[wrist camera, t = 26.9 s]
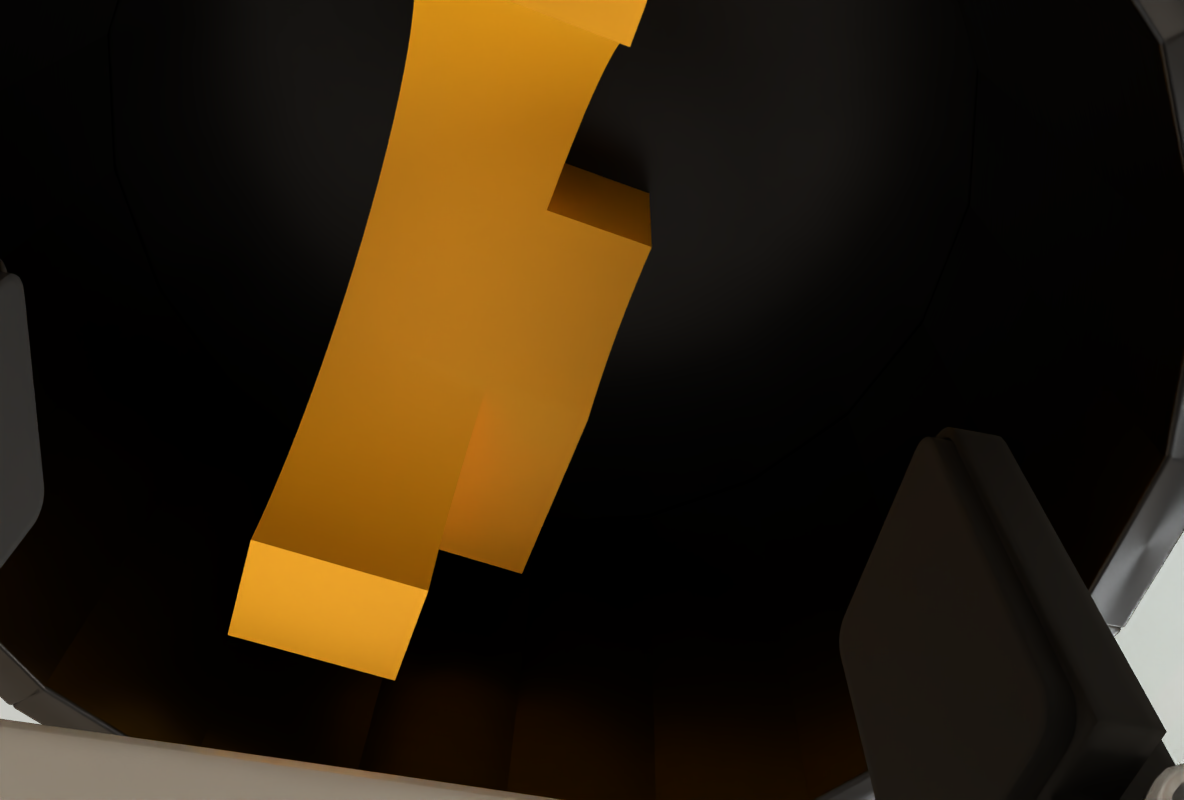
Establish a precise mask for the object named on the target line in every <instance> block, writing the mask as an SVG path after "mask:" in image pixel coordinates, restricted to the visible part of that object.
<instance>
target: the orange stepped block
mask: <svg viewBox="0 0 1184 800" xmlns="http://www.w3.org/2000/svg"><path fill="white" fill-rule="evenodd" d="M646 3H647V0H414V8H413V17H412V26H411V33H410V39H409V46H408V52H407V58H406V63H405V69H404V74H403V79H402V84H401V89H400V94H399V99H398V103H397V108H396V112H395V117H394V121H393V125H392V130H391V134H390V138H389V142H388V146H387V150H386V154H385V158H384V162H383V166H382V170H381V174H380V177H379V181H378V185H377V189H376V193H375V196H374V200H373V203H372V207H371V211H370V214H369V218H368V221H367V225H366V228H365V231H364V235H363V238H362V242H361V245H360V249H359V252H358V255H357V258H356V262H355V265H354V268H353V272H352V275H351V278H350V281H349V284H348V288H347V291H346V294H345V297H344V300H343V303H342V306H341V309H340V312H339V315H338V319H337V322H336V325H335V328H334V331H333V334H332V336H331V339H330V342H329V345H328V348H327V351H326V354H325V357H324V360H323V363H322V366H321V368H320V371H319V374H318V377H317V380H316V382H315V385H314V388H313V391H312V393H311V396H310V399H309V402H308V404H307V407H306V410H305V412H304V415H303V418H302V420H301V423H300V426H299V428H298V431H297V433H296V436H295V438H294V441H293V444H292V446H291V449H290V451H289V454H288V456H287V459H286V461H285V463H284V466H283V468H282V471H281V473H280V476H279V478H278V480H277V483H276V485H275V487H274V490H273V492H272V495H271V497H270V499H269V501H268V504H267V506H266V508H265V510H264V513H263V515H262V517H261V519H260V521H259V524H258V526H257V528H256V530H255V532H254V534H253V536H252V539H251V541H250V545H249V550H248V554H247V558H246V562H245V566H244V570H243V574H242V578H241V582H240V586H239V590H238V594H237V598H236V603H235V607H234V611H233V615H232V619H231V623H230V627H229V631H228V635H230V636H233V637H237V638H241V639H244V640H248V641H252V642H255V643H259V644H263V645H266V646H270V647H274V648H277V649H281V650H285V651H288V652H292V653H296V654H299V655H303V656H307V657H310V658H314V659H318V660H321V661H325V662H329V663H332V664H336V665H340V666H343V667H347V668H351V669H354V670H358V671H362V672H365V673H369V674H372V675H376V676H380V677H383V678H387V679H391V680H394V681H395V679H396V677H397V674H398V671H399V669H400V666H401V663H402V660H403V658H404V655H405V652H406V650H407V647H408V644H409V642H410V639H411V636H412V633H413V631H414V628H415V625H416V623H417V620H418V617H419V615H420V612H421V609H422V606H423V604H424V601H425V598H426V596H427V593H428V590H429V586H430V582H431V578H432V574H433V570H434V566H435V562H436V558H437V554H438V551H439V550H443V551H446V552H450V553H453V554H456V555H460V556H463V557H467V558H470V559H473V560H477V561H480V562H483V563H487V564H490V565H494V566H497V567H500V568H504V569H507V570H511V571H514V572H517V573H521V574H522V572H523V570H524V568H525V565H526V563H527V561H528V558H529V556H530V554H531V551H532V549H533V547H534V544H535V542H536V540H537V537H538V535H539V533H540V530H541V528H542V526H543V523H544V521H545V519H546V516H547V514H548V512H549V509H550V507H551V505H552V502H553V500H554V498H555V495H556V493H557V491H558V488H559V486H560V484H561V481H562V479H563V477H564V474H565V472H566V470H567V467H568V465H569V463H570V460H571V458H572V456H573V453H574V451H575V449H576V446H577V444H578V442H579V439H580V437H581V435H582V432H583V430H584V428H585V425H586V423H587V421H588V417H589V414H590V411H591V408H592V405H593V401H594V398H595V395H596V392H597V389H598V386H599V383H600V380H601V377H602V374H603V371H604V368H605V365H606V362H607V359H608V356H609V354H610V351H611V348H612V345H613V342H614V340H615V337H616V334H617V331H618V329H619V326H620V323H621V321H622V318H623V316H624V313H625V310H626V308H627V305H628V303H629V300H630V298H631V295H632V293H633V290H634V288H635V285H636V283H637V280H638V278H639V276H640V273H641V271H642V269H643V266H644V264H645V261H646V259H647V257H648V255H649V252H650V250H651V248H652V242H651V221H650V201H649V193H647V192H644V191H641V190H638V189H636V188H633V187H630V186H627V185H624V184H622V183H619V182H616V181H613V180H610V179H608V178H605V177H602V176H599V175H597V174H594V173H591V172H588V171H585V170H583V169H580V168H577V167H574V166H572V165H569V164H566V163H565V161H566V158H567V156H568V153H569V151H570V148H571V146H572V143H573V141H574V138H575V136H576V133H577V131H578V128H579V126H580V123H581V121H582V119H583V116H584V114H585V111H586V109H587V107H588V104H589V102H590V100H591V98H592V95H593V93H594V91H595V89H596V86H597V84H598V82H599V80H600V78H601V76H602V74H603V72H604V70H605V68H606V66H607V64H608V62H609V60H610V58H611V56H612V54H613V53H614V51H615V49H616V48H617V46H618V45H619V44H623V45H626V46H628V47H630V46H631V43H632V40H633V38H634V35H635V32H636V30H637V27H638V24H639V22H640V19H641V16H642V13H643V11H644V8H645V5H646Z"/></svg>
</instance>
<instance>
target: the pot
mask: <svg viewBox="0 0 1184 800" xmlns="http://www.w3.org/2000/svg"><path fill="white" fill-rule="evenodd" d="M413 8H414V0H0V259H1V260H2V261H3V263H4V265H5V267H6V269H7V273H12V274H16V275H17V276H18V277H19V278H20V280H21V282H22V284H23V289H24V295H25V305H26V315H27V325H28V335H29V344H30V354H31V364H32V374H33V384H34V393H35V403H36V413H37V423H38V433H39V443H40V452H41V462H42V472H43V482H44V498H43V504H42V507H41V511H40V513H39V516H38V518H37V520H36V522H35V523H34V525H33V526H32V528H31V529H30V530H29V531H28V533H27V534H26V535H25V537H24V538H23V539H22V541H21V542H20V543H19V545H18V546H17V547H16V549H15V550H14V551H13V552H12V554H11V555H10V556H9V558H8V559H7V560H6V562H5V563H4V564H3V566H2V567H1V568H0V697H1V698H2V699H3V700H4V701H5V702H6V703H7V704H9V705H13V706H14V708H15V709H17V710H19V711H20V712H22V713H24V714H25V715H27V716H29V717H30V718H32V719H34V720H35V721H37V722H39V723H40V724H42V725H47V726H55V727H62V728H69V729H76V730H83V731H90V732H97V733H105V734H112V735H119V736H126V737H133V738H140V739H147V740H154V741H162V742H169V743H176V744H183V745H190V746H197V747H204V748H211V749H218V750H225V751H232V752H239V753H246V754H253V755H260V756H267V757H273V758H280V759H287V760H294V761H301V762H308V763H315V764H322V765H329V766H336V767H342V768H349V769H356V770H363V771H370V772H377V773H384V774H391V775H397V776H404V777H411V778H418V779H425V780H432V781H438V782H445V783H452V784H459V785H466V786H472V787H479V788H486V789H493V790H500V791H506V792H513V793H520V794H527V795H534V796H541V797H547V798H554V799H561V800H875V796H874V792H873V788H872V784H871V779H870V775H869V771H868V767H867V763H866V759H865V755H864V750H863V746H862V742H861V738H860V734H859V730H858V726H857V722H856V717H855V713H854V709H853V705H852V701H851V697H850V693H849V688H848V684H847V680H846V676H845V672H844V668H843V664H842V659H841V655H840V649H839V637H840V629H841V624H842V621H843V618H844V615H845V613H846V611H847V608H848V606H849V604H850V601H851V599H852V597H853V594H854V592H855V590H856V587H857V585H858V583H859V580H860V578H861V576H862V573H863V571H864V569H865V566H866V564H867V562H868V559H869V557H870V555H871V552H872V550H873V548H874V546H875V543H876V541H877V539H878V536H879V534H880V532H881V529H882V527H883V525H884V522H885V520H886V518H887V515H888V513H889V511H890V508H891V506H892V504H893V501H894V499H895V497H896V494H897V492H898V490H899V487H900V485H901V483H902V480H903V478H904V476H905V473H906V471H907V469H908V466H909V464H910V462H911V459H912V457H913V455H914V452H915V450H916V448H917V446H918V444H919V442H920V441H921V440H922V439H923V438H925V437H932V438H936V436H937V435H938V433H939V432H940V431H941V430H942V429H944V428H946V427H952V428H958V429H963V430H969V431H974V432H980V433H986V434H991V435H996V436H1000V437H1002V439H1003V440H1004V441H1005V442H1006V444H1007V446H1008V447H1009V449H1010V451H1011V453H1012V455H1013V456H1014V458H1015V460H1016V462H1017V464H1018V465H1019V467H1020V469H1021V471H1022V473H1023V474H1024V476H1025V478H1026V480H1027V482H1028V483H1029V485H1030V487H1031V489H1032V491H1033V492H1034V494H1035V496H1036V498H1037V500H1038V501H1039V503H1040V505H1041V507H1042V509H1043V510H1044V512H1045V514H1046V516H1047V518H1048V519H1049V521H1050V523H1051V525H1052V527H1053V528H1054V530H1055V532H1056V534H1057V536H1058V537H1059V539H1060V541H1061V543H1062V545H1063V546H1064V548H1065V550H1066V552H1067V553H1068V555H1069V557H1070V559H1071V561H1072V562H1073V564H1074V566H1075V568H1076V570H1077V571H1078V573H1079V575H1080V577H1081V579H1082V580H1083V582H1084V584H1085V586H1086V588H1087V589H1088V591H1089V593H1090V595H1091V597H1092V598H1093V600H1094V602H1095V604H1096V606H1097V607H1098V609H1099V611H1100V613H1101V615H1102V616H1103V618H1104V620H1105V622H1106V624H1107V625H1108V627H1109V629H1110V631H1111V633H1112V634H1113V636H1115V635H1116V634H1118V633H1119V631H1120V630H1121V627H1124V626H1125V625H1126V624H1127V622H1128V620H1129V619H1130V617H1131V616H1132V614H1133V612H1134V611H1135V609H1136V607H1137V606H1138V604H1139V603H1140V601H1141V599H1142V598H1143V596H1144V594H1145V593H1146V591H1147V590H1148V588H1149V586H1150V585H1151V583H1152V582H1153V580H1154V578H1155V577H1156V575H1157V573H1158V572H1159V570H1160V569H1161V567H1162V565H1163V564H1164V562H1165V560H1166V559H1167V557H1168V556H1169V554H1170V552H1171V551H1172V549H1173V547H1174V546H1175V544H1176V543H1177V541H1178V539H1179V538H1180V536H1181V534H1182V533H1183V531H1184V0H647V3H646V5H645V8H644V11H643V13H642V16H641V19H640V22H639V24H638V27H637V30H636V32H635V35H634V38H633V40H632V43H631V46H630V47H628V46H626V45H623V44H619V45H618V46H617V48H616V49H615V51H614V53H613V54H612V56H611V58H610V60H609V62H608V64H607V66H606V68H605V70H604V72H603V74H602V76H601V78H600V80H599V82H598V84H597V86H596V89H595V91H594V93H593V95H592V98H591V100H590V102H589V104H588V107H587V109H586V111H585V114H584V116H583V119H582V121H581V123H580V126H579V128H578V131H577V133H576V136H575V138H574V141H573V143H572V146H571V148H570V151H569V153H568V156H567V158H566V161H565V163H566V164H569V165H572V166H574V167H577V168H580V169H583V170H585V171H588V172H591V173H594V174H597V175H599V176H602V177H605V178H608V179H610V180H613V181H616V182H619V183H622V184H624V185H627V186H630V187H633V188H636V189H638V190H641V191H644V192H647V193H649V201H650V221H651V242H652V248H651V250H650V252H649V255H648V257H647V259H646V261H645V264H644V266H643V269H642V271H641V273H640V276H639V278H638V280H637V283H636V285H635V288H634V290H633V293H632V295H631V298H630V300H629V303H628V305H627V308H626V310H625V313H624V316H623V318H622V321H621V323H620V326H619V329H618V331H617V334H616V337H615V340H614V342H613V345H612V348H611V351H610V354H609V356H608V359H607V362H606V365H605V368H604V371H603V374H602V377H601V380H600V383H599V386H598V389H597V392H596V395H595V398H594V401H593V405H592V408H591V411H590V414H589V417H588V421H587V423H586V425H585V428H584V430H583V432H582V435H581V437H580V439H579V442H578V444H577V446H576V449H575V451H574V453H573V456H572V458H571V460H570V463H569V465H568V467H567V470H566V472H565V474H564V477H563V479H562V481H561V484H560V486H559V488H558V491H557V493H556V495H555V498H554V500H553V502H552V505H551V507H550V509H549V512H548V514H547V516H546V519H545V521H544V523H543V526H542V528H541V530H540V533H539V535H538V537H537V540H536V542H535V544H534V547H533V549H532V551H531V554H530V556H529V558H528V561H527V563H526V565H525V568H524V570H523V572H522V574H521V573H517V572H514V571H511V570H507V569H504V568H500V567H497V566H494V565H490V564H487V563H483V562H480V561H477V560H473V559H470V558H467V557H463V556H460V555H456V554H453V553H450V552H446V551H443V550H439V551H438V554H437V558H436V562H435V566H434V570H433V574H432V578H431V582H430V586H429V590H428V593H427V596H426V598H425V601H424V604H423V606H422V609H421V612H420V615H419V617H418V620H417V623H416V625H415V628H414V631H413V633H412V636H411V639H410V642H409V644H408V647H407V650H406V652H405V655H404V658H403V660H402V663H401V666H400V669H399V671H398V674H397V677H396V679H395V681H394V680H391V679H387V678H383V677H380V676H376V675H372V674H369V673H365V672H362V671H358V670H354V669H351V668H347V667H343V666H340V665H336V664H332V663H329V662H325V661H321V660H318V659H314V658H310V657H307V656H303V655H299V654H296V653H292V652H288V651H285V650H281V649H277V648H274V647H270V646H266V645H263V644H259V643H255V642H252V641H248V640H244V639H241V638H237V637H233V636H230V635H228V631H229V627H230V623H231V619H232V615H233V611H234V607H235V603H236V598H237V594H238V590H239V586H240V582H241V578H242V574H243V570H244V566H245V562H246V558H247V554H248V550H249V545H250V541H251V539H252V536H253V534H254V532H255V530H256V528H257V526H258V524H259V521H260V519H261V517H262V515H263V513H264V510H265V508H266V506H267V504H268V501H269V499H270V497H271V495H272V492H273V490H274V487H275V485H276V483H277V480H278V478H279V476H280V473H281V471H282V468H283V466H284V463H285V461H286V459H287V456H288V454H289V451H290V449H291V446H292V444H293V441H294V438H295V436H296V433H297V431H298V428H299V426H300V423H301V420H302V418H303V415H304V412H305V410H306V407H307V404H308V402H309V399H310V396H311V393H312V391H313V388H314V385H315V382H316V380H317V377H318V374H319V371H320V368H321V366H322V363H323V360H324V357H325V354H326V351H327V348H328V345H329V342H330V339H331V336H332V334H333V331H334V328H335V325H336V322H337V319H338V315H339V312H340V309H341V306H342V303H343V300H344V297H345V294H346V291H347V288H348V284H349V281H350V278H351V275H352V272H353V268H354V265H355V262H356V258H357V255H358V252H359V249H360V245H361V242H362V238H363V235H364V231H365V228H366V225H367V221H368V218H369V214H370V211H371V207H372V203H373V200H374V196H375V193H376V189H377V185H378V181H379V177H380V174H381V170H382V166H383V162H384V158H385V154H386V150H387V146H388V142H389V138H390V134H391V130H392V125H393V121H394V117H395V112H396V108H397V103H398V99H399V94H400V89H401V84H402V79H403V74H404V69H405V63H406V58H407V52H408V46H409V39H410V33H411V26H412V17H413Z"/></svg>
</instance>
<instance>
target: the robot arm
mask: <svg viewBox="0 0 1184 800" xmlns="http://www.w3.org/2000/svg"><path fill="white" fill-rule="evenodd" d="M43 498H44V482H43V472H42V462H41V452H40V443H39V433H38V423H37V413H36V403H35V393H34V384H33V374H32V364H31V354H30V344H29V335H28V325H27V315H26V305H25V295H24V289H23V284H22V282H21V280H20V278H19V277H18V276H17V275H16V274H12V273H7V269H6V267H5V265H4V263H3V261H2V260H1V259H0V568H1V567H2V566H3V564H4V563H5V562H6V560H7V559H8V558H9V556H10V555H11V554H12V552H13V551H14V550H15V549H16V547H17V546H18V545H19V543H20V542H21V541H22V539H23V538H24V537H25V535H26V534H27V533H28V531H29V530H30V529H31V528H32V526H33V525H34V523H35V522H36V520H37V518H38V516H39V513H40V511H41V507H42V504H43ZM839 649H840V655H841V659H842V664H843V668H844V672H845V676H846V680H847V684H848V688H849V693H850V697H851V701H852V705H853V709H854V713H855V717H856V722H857V726H858V730H859V734H860V738H861V742H862V746H863V750H864V755H865V759H866V763H867V767H868V771H869V775H870V779H871V784H872V788H873V792H874V796H875V800H1184V764H1180V765H1175V764H1174V762H1173V760H1172V758H1171V756H1170V754H1169V753H1168V751H1167V749H1166V747H1165V745H1164V743H1163V742H1162V740H1161V739H1162V738H1163V736H1164V735H1165V733H1166V730H1165V728H1164V726H1163V724H1162V723H1161V721H1160V719H1159V717H1158V715H1157V714H1156V712H1155V710H1154V708H1153V706H1152V705H1151V703H1150V701H1149V699H1148V697H1147V696H1146V694H1145V692H1144V690H1143V688H1142V687H1141V685H1140V683H1139V681H1138V679H1137V678H1136V676H1135V674H1134V672H1133V670H1132V669H1131V667H1130V665H1129V663H1128V661H1127V660H1126V658H1125V656H1124V654H1123V652H1122V651H1121V649H1120V647H1119V645H1118V643H1117V642H1116V640H1115V638H1114V636H1113V634H1112V633H1111V631H1110V629H1109V627H1108V625H1107V624H1106V622H1105V620H1104V618H1103V616H1102V615H1101V613H1100V611H1099V609H1098V607H1097V606H1096V604H1095V602H1094V600H1093V598H1092V597H1091V595H1090V593H1089V591H1088V589H1087V588H1086V586H1085V584H1084V582H1083V580H1082V579H1081V577H1080V575H1079V573H1078V571H1077V570H1076V568H1075V566H1074V564H1073V562H1072V561H1071V559H1070V557H1069V555H1068V553H1067V552H1066V550H1065V548H1064V546H1063V545H1062V543H1061V541H1060V539H1059V537H1058V536H1057V534H1056V532H1055V530H1054V528H1053V527H1052V525H1051V523H1050V521H1049V519H1048V518H1047V516H1046V514H1045V512H1044V510H1043V509H1042V507H1041V505H1040V503H1039V501H1038V500H1037V498H1036V496H1035V494H1034V492H1033V491H1032V489H1031V487H1030V485H1029V483H1028V482H1027V480H1026V478H1025V476H1024V474H1023V473H1022V471H1021V469H1020V467H1019V465H1018V464H1017V462H1016V460H1015V458H1014V456H1013V455H1012V453H1011V451H1010V449H1009V447H1008V446H1007V444H1006V442H1005V441H1004V440H1003V439H1002V437H1000V436H996V435H991V434H986V433H980V432H974V431H969V430H963V429H958V428H952V427H946V428H944V429H942V430H941V431H940V432H939V433H938V435H937V436H936V438H932V437H925V438H923V439H922V440H921V441H920V442H919V444H918V446H917V448H916V450H915V452H914V455H913V457H912V459H911V462H910V464H909V466H908V469H907V471H906V473H905V476H904V478H903V480H902V483H901V485H900V487H899V490H898V492H897V494H896V497H895V499H894V501H893V504H892V506H891V508H890V511H889V513H888V515H887V518H886V520H885V522H884V525H883V527H882V529H881V532H880V534H879V536H878V539H877V541H876V543H875V546H874V548H873V550H872V552H871V555H870V557H869V559H868V562H867V564H866V566H865V569H864V571H863V573H862V576H861V578H860V580H859V583H858V585H857V587H856V590H855V592H854V594H853V597H852V599H851V601H850V604H849V606H848V608H847V611H846V613H845V615H844V618H843V621H842V624H841V629H840V637H839ZM0 800H561V799H554V798H547V797H541V796H534V795H527V794H520V793H513V792H506V791H500V790H493V789H486V788H479V787H472V786H466V785H459V784H452V783H445V782H438V781H432V780H425V779H418V778H411V777H404V776H397V775H391V774H384V773H377V772H370V771H363V770H356V769H349V768H342V767H336V766H329V765H322V764H315V763H308V762H301V761H294V760H287V759H280V758H273V757H267V756H260V755H253V754H246V753H239V752H232V751H225V750H218V749H211V748H204V747H197V746H190V745H183V744H176V743H169V742H162V741H154V740H147V739H140V738H133V737H126V736H119V735H112V734H105V733H97V732H90V731H83V730H76V729H69V728H62V727H55V726H47V725H40V724H33V723H26V722H19V721H12V720H5V719H0Z"/></svg>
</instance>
